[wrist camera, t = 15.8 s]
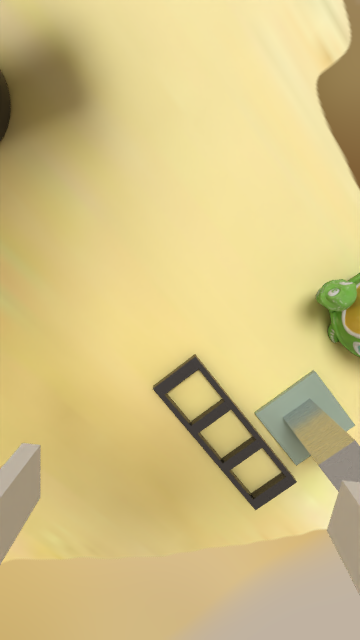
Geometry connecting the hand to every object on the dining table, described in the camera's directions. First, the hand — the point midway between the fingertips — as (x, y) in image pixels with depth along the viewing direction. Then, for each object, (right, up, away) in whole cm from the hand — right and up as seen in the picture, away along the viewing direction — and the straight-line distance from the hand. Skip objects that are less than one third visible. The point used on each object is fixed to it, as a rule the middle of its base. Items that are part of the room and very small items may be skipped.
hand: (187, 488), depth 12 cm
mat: (+19, -8, +31) cm, 37 cm away
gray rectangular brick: (+19, -8, +31) cm, 37 cm away
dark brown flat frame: (+7, -10, +31) cm, 34 cm away
